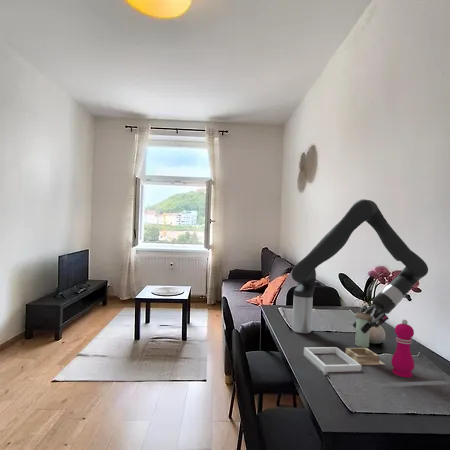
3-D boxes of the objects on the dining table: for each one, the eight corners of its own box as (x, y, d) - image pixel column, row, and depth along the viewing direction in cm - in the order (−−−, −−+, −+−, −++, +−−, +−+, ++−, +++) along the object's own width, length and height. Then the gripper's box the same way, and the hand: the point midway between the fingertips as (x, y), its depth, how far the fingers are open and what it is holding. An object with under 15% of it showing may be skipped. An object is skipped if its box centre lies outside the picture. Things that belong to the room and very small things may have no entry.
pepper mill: (401, 381, 117) (404, 322, 117) (386, 372, 124) (388, 317, 124) (418, 380, 119) (421, 322, 119) (402, 371, 126) (405, 316, 126)
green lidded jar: (350, 342, 137) (352, 312, 137) (364, 342, 138) (366, 312, 138) (359, 347, 131) (360, 316, 131) (373, 347, 132) (375, 316, 132)
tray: (303, 355, 138) (303, 347, 138) (336, 354, 140) (336, 347, 140) (324, 374, 120) (324, 366, 120) (361, 373, 122) (361, 365, 122)
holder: (339, 355, 139) (340, 346, 139) (366, 354, 141) (367, 346, 141) (355, 367, 127) (356, 358, 127) (385, 366, 129) (385, 357, 129)
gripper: (371, 288, 143) (342, 317, 141) (394, 296, 129) (362, 328, 127) (382, 301, 144) (354, 330, 142) (406, 310, 130) (375, 342, 128)
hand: (358, 329), depth 134 cm, fingers closed on green lidded jar, 5 cm apart
